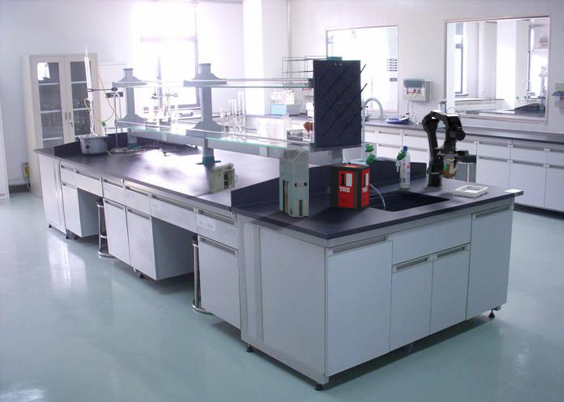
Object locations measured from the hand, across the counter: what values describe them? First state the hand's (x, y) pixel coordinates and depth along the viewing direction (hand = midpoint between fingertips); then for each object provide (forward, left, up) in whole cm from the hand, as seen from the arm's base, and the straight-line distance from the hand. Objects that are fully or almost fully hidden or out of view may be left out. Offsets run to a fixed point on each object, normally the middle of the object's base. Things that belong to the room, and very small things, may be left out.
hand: (449, 167), depth 337 cm
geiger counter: (-101, -67, -13) cm, 122 cm away
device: (-35, -91, -13) cm, 98 cm away
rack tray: (+13, 0, -12) cm, 18 cm away
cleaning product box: (-22, -64, -13) cm, 69 cm away
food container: (-1, 0, -5) cm, 5 cm away
